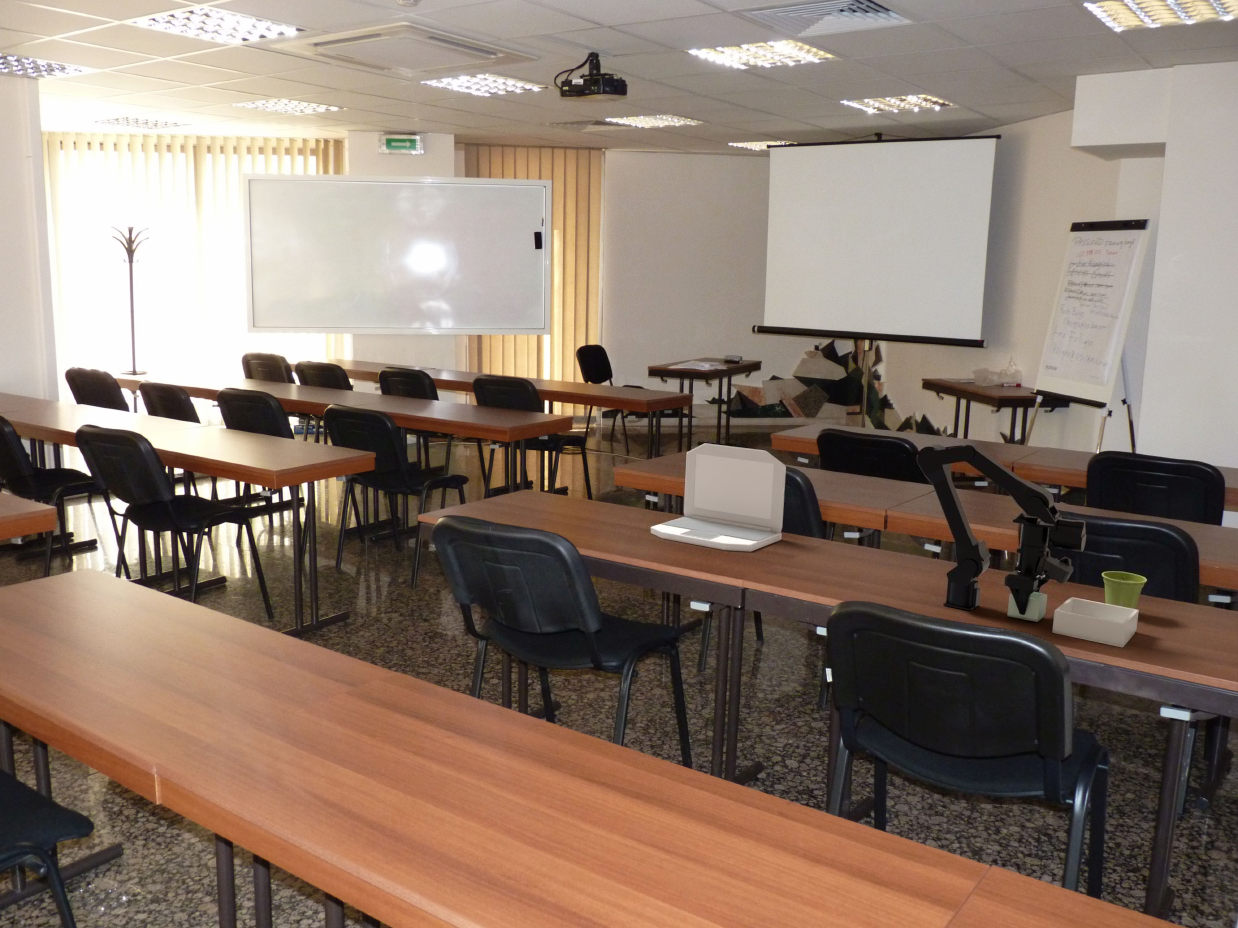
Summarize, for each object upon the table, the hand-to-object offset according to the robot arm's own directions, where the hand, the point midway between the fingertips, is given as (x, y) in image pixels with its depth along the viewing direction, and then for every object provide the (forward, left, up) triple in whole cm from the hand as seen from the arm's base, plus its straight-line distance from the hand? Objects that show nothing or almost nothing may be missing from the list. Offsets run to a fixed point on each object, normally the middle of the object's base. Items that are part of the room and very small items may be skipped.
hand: (1026, 611), depth 227 cm
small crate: (0, 0, -1) cm, 1 cm away
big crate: (+15, 0, -2) cm, 15 cm away
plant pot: (+16, +21, -2) cm, 26 cm away
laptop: (-94, +17, -2) cm, 96 cm away
